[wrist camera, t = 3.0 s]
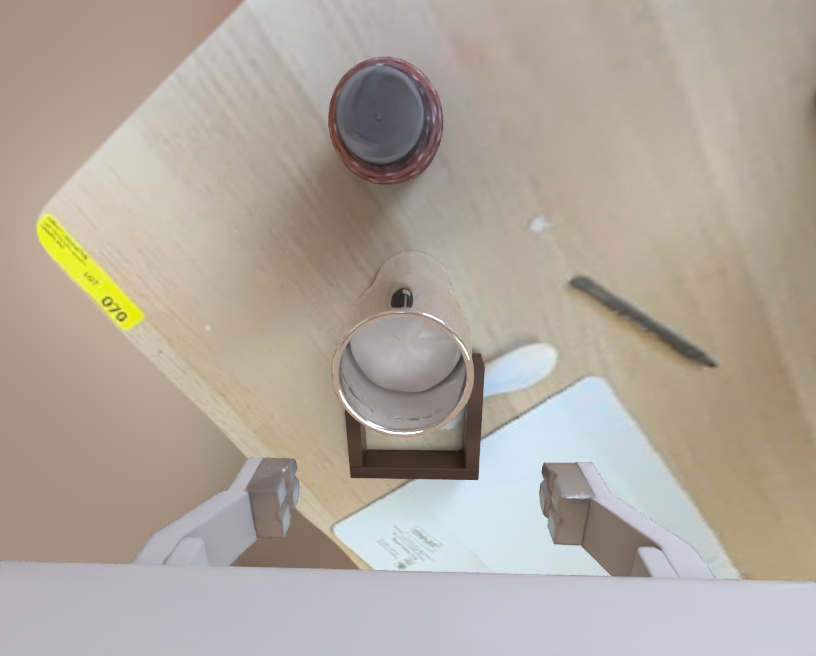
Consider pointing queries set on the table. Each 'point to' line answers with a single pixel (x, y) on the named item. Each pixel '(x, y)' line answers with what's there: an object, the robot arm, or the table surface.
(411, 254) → the beer glass
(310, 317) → the table surface
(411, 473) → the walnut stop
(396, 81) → the supplement bottle
